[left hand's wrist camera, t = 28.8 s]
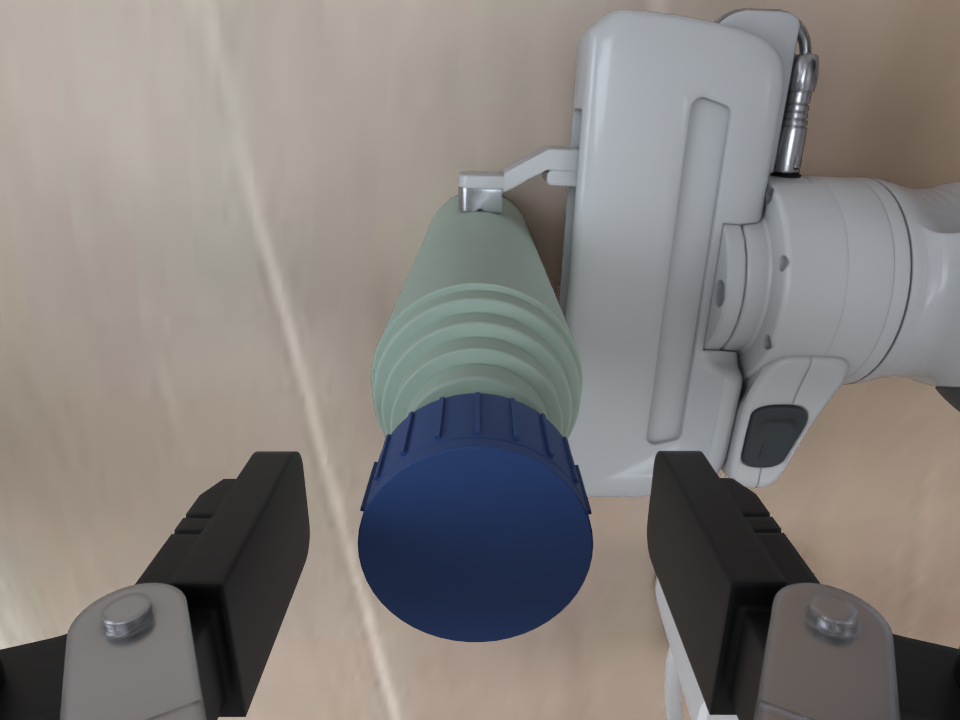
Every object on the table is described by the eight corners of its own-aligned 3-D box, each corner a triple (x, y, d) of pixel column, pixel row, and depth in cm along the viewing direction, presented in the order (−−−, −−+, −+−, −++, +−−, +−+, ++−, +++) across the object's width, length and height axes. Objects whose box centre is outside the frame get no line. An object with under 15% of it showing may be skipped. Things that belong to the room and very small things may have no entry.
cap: (335, 506, 12) (309, 577, 10) (445, 348, 11) (438, 397, 9) (500, 597, 13) (505, 679, 11) (620, 459, 12) (646, 523, 10)
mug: (723, 495, 40) (801, 618, 30) (816, 575, 42) (917, 714, 32) (594, 604, 43) (628, 748, 33) (687, 673, 45) (744, 828, 35)
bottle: (408, 221, 34) (252, 467, 11) (499, 171, 33) (548, 318, 10) (458, 308, 36) (418, 686, 12) (546, 262, 35) (683, 576, 11)
